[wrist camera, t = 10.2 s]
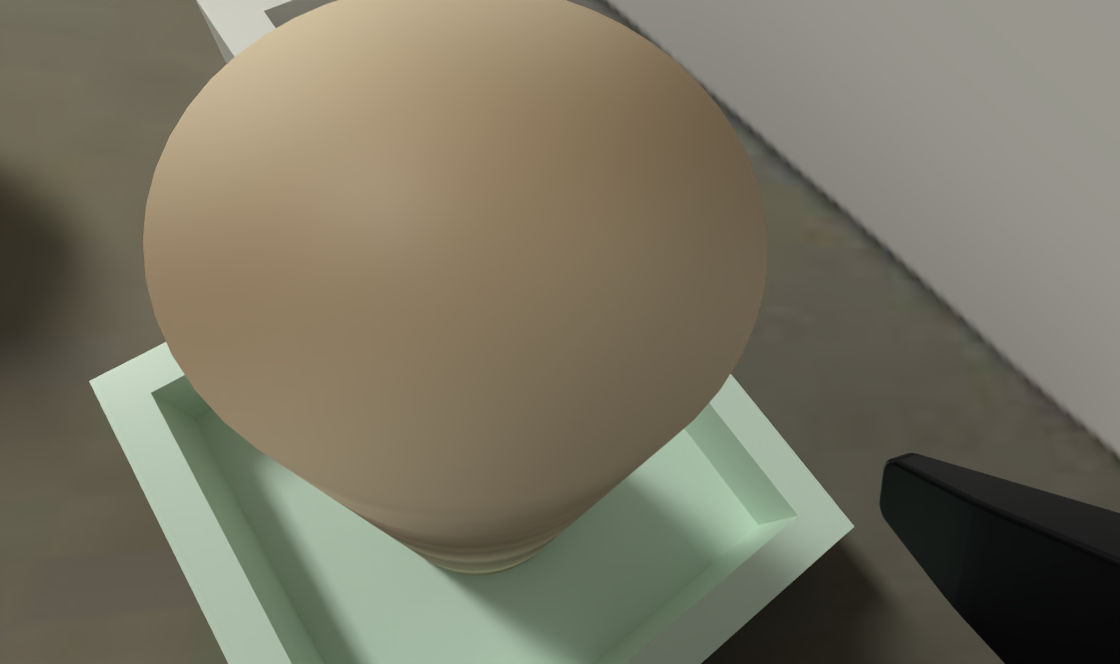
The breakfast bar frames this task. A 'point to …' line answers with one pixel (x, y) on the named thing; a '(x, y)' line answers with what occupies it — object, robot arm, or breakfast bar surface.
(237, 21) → the white square frame
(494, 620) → the pale green tray
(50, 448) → the breakfast bar surface
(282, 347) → the beech dowel
